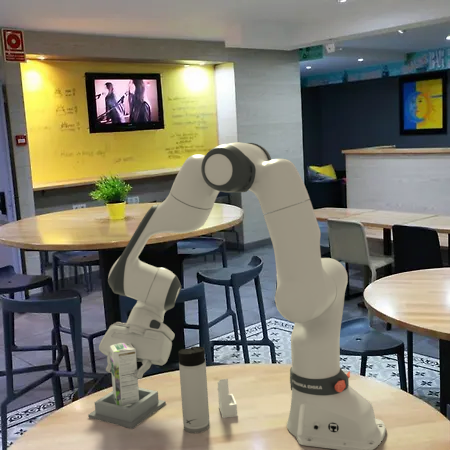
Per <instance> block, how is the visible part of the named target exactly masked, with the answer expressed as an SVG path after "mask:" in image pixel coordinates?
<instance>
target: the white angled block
mask: <svg viewBox="0 0 450 450" xmlns="http://www.w3.org/2000/svg"><path fill="white" fill-rule="evenodd" d="M229 390H230V389H229V378H223V379H222V378H221V379H219V380H218V382H217V391H218V395H217V396H218V407H219V412H220V414H221V417H222V419H226V418H231V417H238V405H237V401H236V399H235V397H234V394H233V393H229Z"/></svg>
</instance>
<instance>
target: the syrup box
mask: <svg viewBox="0 0 450 450" xmlns="http://www.w3.org/2000/svg"><path fill="white" fill-rule="evenodd" d="M110 356H111V372H112V373H111V384H112V391H113V397H114V400H115V402H116V404H117V405H120V406H125V405H129V404H133V403H137V402H138V401H139V389H138V387H139V379H138V378H135V377H134V373H135V370H138V363H137V362H138V361H136V349H135V348H134V346H133V345H132V344H131V343H120V344H115V345H112V346H110Z"/></svg>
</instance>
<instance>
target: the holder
mask: <svg viewBox="0 0 450 450" xmlns="http://www.w3.org/2000/svg"><path fill="white" fill-rule="evenodd" d="M138 389H139V401H138V402H137V403H133V404H129V405H125V406H120V405H117V404H116V402H115V400H114V397H113V390H112V391H110V392H108V393H106V394H105V395H104V396H102V397H100V398H99V399H97V400H96V401H94V410H93V411H91V412H90V413H88V414H87V416H88V417H89V419H93V420H96V421H100V422H104V423H108V424H113V425H116V426H119V427H123V428H127V429H131V430H133V429H135V428H136V427H137V426H138V425H140V424H141V423H143V422H144V421H145V420H147V418H149V417H151V416H152V415H153V414H154V413H155V412H157V411H158V410H160V409H161V408H162V407H164V406H165V405H167V403H166V402H167V401H166V400H164V399H159V392H158V391H157V390H152V389H148V388H143V387H139V386H138ZM88 417H87V418H88Z"/></svg>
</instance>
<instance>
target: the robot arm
mask: <svg viewBox="0 0 450 450" xmlns="http://www.w3.org/2000/svg"><path fill="white" fill-rule="evenodd" d="M248 191H250V192H252V193H253V194H254V196H255V197H256V198H257V200H258V203H259V205H260V208H261V212H262V214H263V218H264V221H265V224H266V227H267V231H268V234H269V237H270V240H271V243H272V247H273V251H274V252H273V253H274V259H275V268H276V269H275V270H276V283H277V284H276V290H275V295H274V301H275V302H274V303H275V307H276V309H277V311H278V313H279V314H280V315H281V316H282V317H283V319H285V320H287V321H289V322H291V323H294V325H293V329H292V331H291V336H290V353H291V354H290V355H291V366H290V370H289V372H290V373H289V384H290V391H291V399H290V410H289V415H288V419H287V422H286V427H287V430H288V431H289V433H291V434H292V436H294V437H295V438H296V440H297V442H298V444H299V445H301V446H307V447H313V448H315V447H316V448H323V449H332V450H375V449H376V448H377V447H379V446H380V444H381V443H382V442H383V440H384V439H385V436H386V432H387V431H386V424H385V423H384V421H383V420H381V419H380V418H376V415H375V409H374V407H373V405H372V403H371V402H370V401H369V400H368V399H367V398H366V397H364V396H363V395H362V394H361V393H359V392H358V391H357V390H355V388H353V387H352V386H351V385H350V384H349V381H350V380H349V378H350V377H351V371H347V373H345V371H343V369H342V367H341V355H340V354H341V353H340V352H341V351H340V349H341V347H340V339H341V337H340V336H341V335H340V334H341V326H342V321H343V313H344V307H345V295H346V294H345V293H346V290H347V285H348V282H349V281H348V279H349V278H348V272H347V270H346V267H345V266H344V265H343V264H342V263H341V262H340V261H339V260H337V259H334V258H330V257H322V255H321V254H322V253H321V235H322V234H321V228H320V225H319V223H318V219H317V217H316V213H315V210H314V207H313V204H312V201H311V198H310V195H309V193H308V190H307V188H306V185H305V183H304V181H303V178H302V177H301V175H300V173H299V171H298V169H297V167H296V165H295V164H294V163H293V162H292V161H291V160H289V159H285V158H273V159H272V156H271V154H270V153H269V151H268V150H267V149H266V148H265V147H263V146H262V145H260V144H258V143H255V142H254V143H253V142H246V143H245V142H241V141H240V142H239V141H238V142H230V143H229V142H228V143H224V144H223V143H222V144H219V145H217V146H214V147H213V148H211V149H210V150H208V151H207V152H206V154H201V153H200V154H198V153H197V154H193V155H192V154H191V155H190V156H188V157H187V158H186V159H185V161H184V163H183V164H182V166H181V167H180V169H179V171H178V173H177V175H176V176H175V179H174V180H173V184H172V186H171V189H170V192H169V194H168V195H167V196H166V198H165V199H164V200H163V201H162V202H161V203H159V204H153V205H152V206H151V207H150V208H149V209H148V211H146V213H145V214H144V216H143V218H142V219H141V221H140V222H139V224H138V226H137V228H136V230H135V231H134V232H133V234H132V236H131V237H130V240H129V241H128V243H127V245H126V247H125V248H124V250H123V252H122V253H121V255H120V256H119V257H118V258H117V260H116V261H115V262H114V263H113V265H112V266H111V268H110V270H109V273H108V278H107V282H108V285H109V288H111V291H112V292H113V293H114V294H116V295H120V296H123V297H128V298H131V299H134V300H136V303H135V304H134V306H133V308H132V309H131V311H130V313H129V316H128V319H127V320H126V322H121V321H116V322H113V324H112V323H111V325H109V327H108V329H107V331H106V332H105V334H104V335H103V337H102V339H101V340H100V343H99V345H98V350H99V352H100V353H102V354H103V355H105V356H106V361H107V365H106V367H105V372H106V373H110V374H112V372H111V356H110V346H112V345H115V344H120V343H131V344H132V345H133V346H134V348H135V349H136V361H137V362H141V364H142V365H141V366H140V367H139V368H138V369H137V370H135V373H134V377H135V378H138V380H141V379H142V378H143V376H144V374H145V373H146V372H147V371H148V370H149V369H150V368H151V366H152V365H157V366H161V367H162V366H163V365H165V364H166V363H167V362H168V359H169V357H170V355H171V352H172V346H173V342H172V341H173V340H174V339H175V333H174V332H173V331H172V329H171V328H170V327H169V326H168V325H167V324H165V323H164V320H165V319H164V316H165V313H166V312H167V311H169V310H171V309H173V308H174V307H175V305H176V300H177V299H178V297H179V294H180V293H181V289H182V285H181V282H180V280H179V278H178V276H177V275H176V274H175V273H173V271H171V270H169V269H168V268H166V267H157V266H154V265H151V264H148V263H146V262H145V261H142V260H140V258H139V256H140V255H141V253H142V252H143V250H144V247H146V244H147V243H148V241H149V239H150V238H151V237H152V236H154V235H158V234H188V233H191V232H194V231H197V230H199V229H200V228H202V227H203V226H204V225H205V223H206V222H207V221H208V218H209V217H210V215H211V212H212V210H213V207H214V205H215V202H216V200H217V197H218V195H219V193H220V192H221V193H247V192H248ZM381 441H382V442H381ZM378 445H379V446H378Z"/></svg>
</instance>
